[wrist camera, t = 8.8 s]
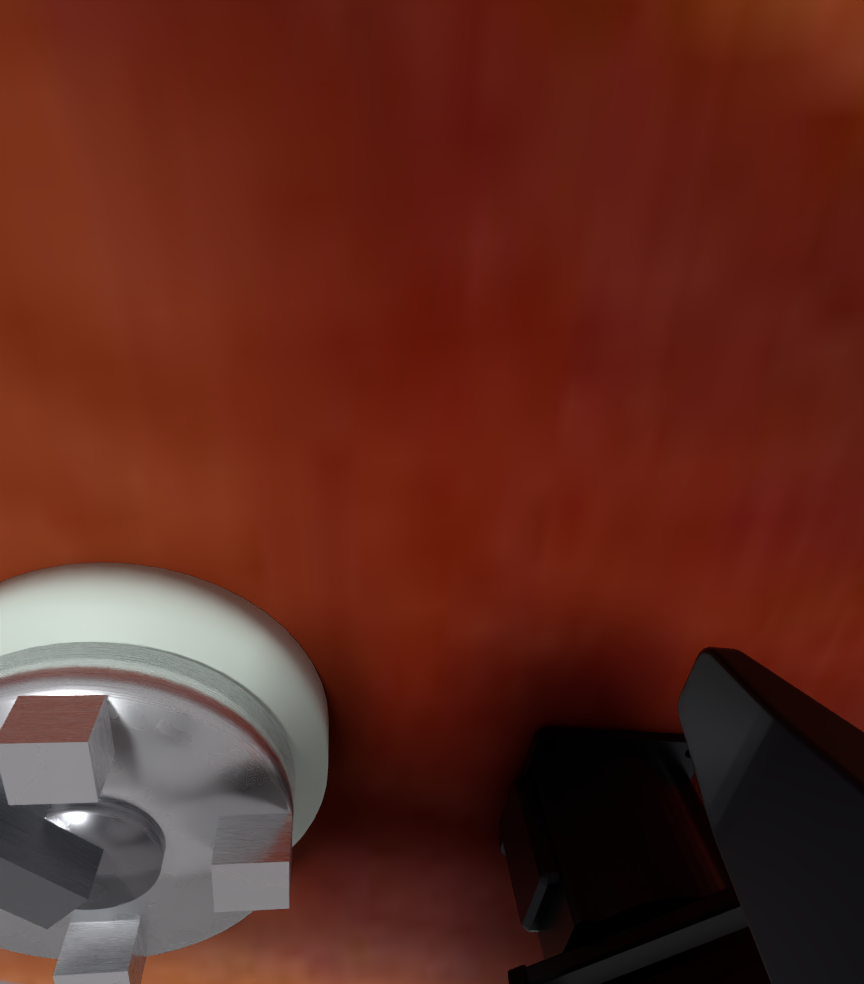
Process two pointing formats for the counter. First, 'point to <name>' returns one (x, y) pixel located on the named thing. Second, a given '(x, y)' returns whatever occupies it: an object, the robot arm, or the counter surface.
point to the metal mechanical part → (134, 807)
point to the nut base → (182, 645)
